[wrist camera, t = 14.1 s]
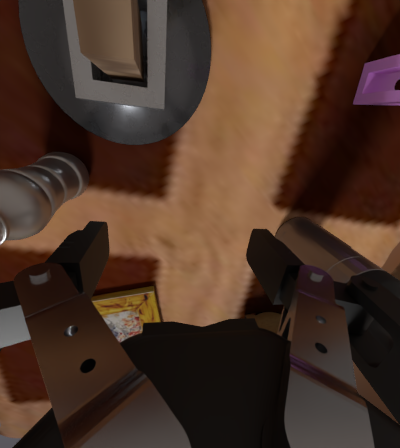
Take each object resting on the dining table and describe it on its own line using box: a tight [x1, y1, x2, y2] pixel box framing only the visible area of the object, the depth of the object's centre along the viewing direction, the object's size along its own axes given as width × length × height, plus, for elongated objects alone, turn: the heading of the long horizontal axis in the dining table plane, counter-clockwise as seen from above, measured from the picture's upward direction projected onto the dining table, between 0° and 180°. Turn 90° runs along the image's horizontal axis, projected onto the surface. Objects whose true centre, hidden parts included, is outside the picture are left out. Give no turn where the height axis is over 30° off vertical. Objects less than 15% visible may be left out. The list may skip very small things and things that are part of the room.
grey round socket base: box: [19, 0, 211, 145], centre depth 24 cm, size 22×22×6 cm
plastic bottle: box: [0, 152, 89, 245], centre depth 23 cm, size 6×7×20 cm
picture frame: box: [91, 286, 161, 343], centre depth 50 cm, size 27×2×30 cm
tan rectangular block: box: [73, 0, 144, 82], centre depth 20 cm, size 4×6×12 cm, turn 176°
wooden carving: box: [245, 312, 281, 334], centre depth 52 cm, size 16×5×10 cm, turn 83°
